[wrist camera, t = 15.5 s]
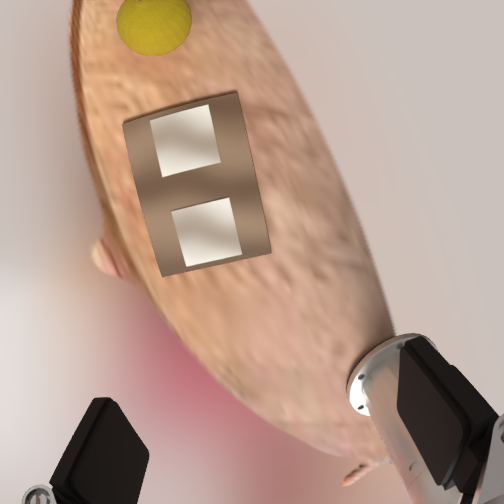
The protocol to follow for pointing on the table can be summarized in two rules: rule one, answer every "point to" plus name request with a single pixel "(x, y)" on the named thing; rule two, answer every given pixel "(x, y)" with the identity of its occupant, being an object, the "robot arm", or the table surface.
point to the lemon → (153, 25)
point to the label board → (197, 185)
